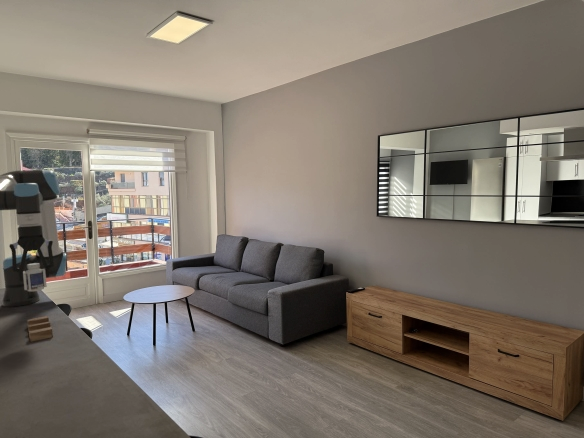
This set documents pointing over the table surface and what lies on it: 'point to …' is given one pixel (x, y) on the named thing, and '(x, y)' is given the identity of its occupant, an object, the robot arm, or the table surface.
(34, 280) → the pill bottle
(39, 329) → the brown wooden rack
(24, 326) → the table surface
